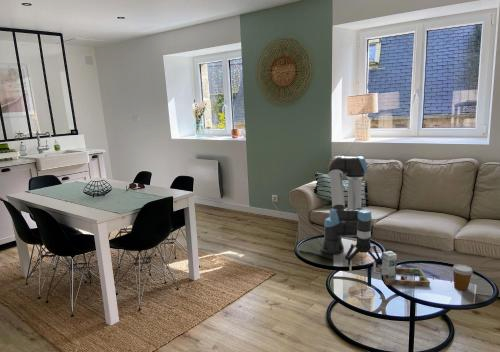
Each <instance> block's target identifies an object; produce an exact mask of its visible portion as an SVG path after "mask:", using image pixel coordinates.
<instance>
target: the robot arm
mask: <svg viewBox="0 0 500 352" xmlns="http://www.w3.org/2000/svg"><path fill="white" fill-rule="evenodd" d="M367 165H368V164H367V161H366V158H365V156H361V155H360V156H358V155H353V156H352V155H349V156H348V155H347V156H342V155H340V156H338V157H336V158H334V159H333V160H332V161H331V162H330V165H329V166H328V170H327V173H328V175H327V176H328V177H329V180H330V181H329V182H330V191H331V192H330V195H331V206H332V207H331V208H330V209H329V216H328V217H326V218H325V219H324V226H323V227H324V234H323V236H324V237H323V241H322V244H321V252H323V253H325V254H329V255H340V254H343V253H344V252H345V247H344V243H343V240H342V237H349V238H350V237H355V238H356V244H353V243H350V248H349V249H348V251H347V252H346V254H345V256H344V259H345V260H346V261H347V265H348V268H349V272H352V263H353V262H352V261H353V259H354V258H355V256H357V255H358V254H359V253H361V254H363V253H364V254H366V253H368V255H370V256H371V258H372V259H373V265H372V267H373V268H372V271H373V273H374V274H376V272H377V271H376V268H378V266H379V265H378V264H379V262H382V259H381V256H380V254H379V252H378V251H377V246H376V245H375V244H371V237H372V236H371V232H372V231H371V229H372V228H371V227H372V218H373V217H372V211H370V210H369V209H365V208H363V207H362V182H363V181H362V179H363V178H364V177H365V175H367V173H368V166H367ZM344 175H345V177H346V178H347V180H348V181H347V208H346V204H345V194H344V192H345V191H344V185H343V184H344V183H343V182H344V181H343V176H344ZM371 249H372V250H373V251H374V252H375V254H373V252H372V250H371ZM375 255H376V256H375Z"/></svg>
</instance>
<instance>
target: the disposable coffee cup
mask: <svg viewBox="0 0 500 352" xmlns="http://www.w3.org/2000/svg"><path fill="white" fill-rule="evenodd" d="M452 270H453V271H452V272H453V288H454V289H455V290H456V291H460V292H467V291H468V289H469V287H470V283H471V277H472V275H473V273H474V271H473V268H472V267H470V266H469V265H465V264H460V263H459V264H458V263H457V264H454V265H453V267H452Z"/></svg>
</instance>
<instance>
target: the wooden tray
mask: <svg viewBox="0 0 500 352" xmlns="http://www.w3.org/2000/svg"><path fill="white" fill-rule="evenodd" d="M379 273H381V274H382V266H380V267H379ZM407 273H409V275H410V274H411V275H419V277H418V278H419V279H418V280H415V279H414V280H413V279H411V280H410V279H407V278H408V276H407V275H400V279H391V278H390V279H388V275H382V276H383V279H382V280H383V282H384V284H385V286H399V287H417V288H418V287H419V288H420V287H421V288H424V287H425V288H430V284H431V281H430V280H429V279H428V277H427V275H426V274H425V273H424V272H423V270H422V269H421V268H418V267H396V274H407Z"/></svg>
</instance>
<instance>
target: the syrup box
mask: <svg viewBox="0 0 500 352" xmlns="http://www.w3.org/2000/svg"><path fill="white" fill-rule="evenodd" d="M397 261H398V254H397V253H396V252H393V251H392V250H389V251H384V252H383V251H382V259H381V262H382V263H381V267H382V273H381V276H383V275H388V279H390V280H391V279H395V278H396V277H397V273H396V268H397V266H398V265H397V264H398V263H397Z"/></svg>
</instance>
